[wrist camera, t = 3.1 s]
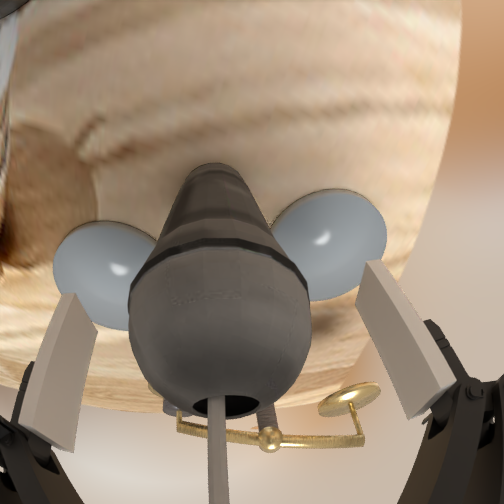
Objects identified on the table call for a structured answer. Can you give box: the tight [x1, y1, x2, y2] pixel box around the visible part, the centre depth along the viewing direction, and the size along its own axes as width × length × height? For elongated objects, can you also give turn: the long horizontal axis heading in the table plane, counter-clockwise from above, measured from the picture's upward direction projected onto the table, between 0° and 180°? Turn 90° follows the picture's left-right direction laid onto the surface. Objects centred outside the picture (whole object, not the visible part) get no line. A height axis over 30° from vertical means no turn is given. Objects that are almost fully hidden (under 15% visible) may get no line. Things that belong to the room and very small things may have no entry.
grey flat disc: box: [53, 221, 157, 331], centre depth 23 cm, size 12×12×1 cm
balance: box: [148, 382, 381, 453], centre depth 24 cm, size 6×21×15 cm, turn 93°
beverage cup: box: [127, 163, 312, 504], centre depth 12 cm, size 7×7×20 cm
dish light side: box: [270, 189, 387, 301], centre depth 24 cm, size 11×11×1 cm
